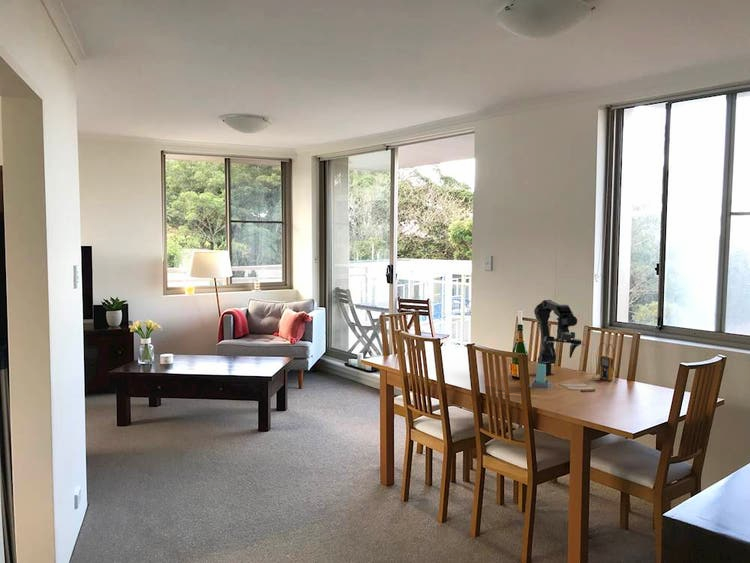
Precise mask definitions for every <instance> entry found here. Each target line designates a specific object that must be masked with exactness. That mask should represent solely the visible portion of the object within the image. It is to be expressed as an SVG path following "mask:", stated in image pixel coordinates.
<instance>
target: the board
mask: <svg viewBox="0 0 750 563" xmlns="http://www.w3.org/2000/svg"><path fill="white" fill-rule="evenodd" d="M559 385H560V386H562V387H564V388H565V389H568V390H569V391H580V392H581V393H584V392H588V391H590V392H596V389H595V388H594V387H592V386H590V385H587V384H585V383H584V382H569V383H559Z"/></svg>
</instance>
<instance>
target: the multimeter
mask: <svg viewBox="0 0 750 563" xmlns="http://www.w3.org/2000/svg"><path fill="white" fill-rule="evenodd" d="M602 344H604V345H605V354H601V355H600V358H599V378H595V377H593V376H592V380H595V381H600V380H601V381H602V380H604V381H605V382H607V381H608V383H611V381H613V380H614V373H615V377H616V383H618V381H619V380H618V379H619V378H618V375H617V373H616V371H615V368H614V360H615V355H613V356H611V355H609V350H608V348H609V346H611V348H612V351H613V352H615V350H614V347H613V346H612V344H611V343H610V344H608V346H607V344H606V343H605V342H601V343H600V344H599V346H598V348H597V351H596V354H598V352H599V349H600V346H601V345H602ZM597 357H598V355H595V359H596V361H595V367H596V372H595V373H596V374H595V376H597V374H598V369H597V368H598V367H597V366H598V365H597V361H598V360H597V359H598V358H597ZM601 378H602V379H601Z"/></svg>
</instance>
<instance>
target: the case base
mask: <svg viewBox="0 0 750 563" xmlns="http://www.w3.org/2000/svg"><path fill="white" fill-rule="evenodd" d="M529 385H530V387H531V388H530V389H541V390H551V389H552V386H553V383H552V382H551V383H550V380H548V379H546V384H544V383H536V378H533V380H532V381H530V383H529Z"/></svg>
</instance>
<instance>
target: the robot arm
mask: <svg viewBox="0 0 750 563" xmlns="http://www.w3.org/2000/svg"><path fill="white" fill-rule="evenodd" d="M533 312H534V315H535V319H536V320H537V321H538V322H539V323H538V324H539V330H540V332H539V333H540V339H541V349H540V350H539V355H538V358H537V363H538V364H546V376H552V375H555V374H554V373H553V372H552V365H555V364H556V361H557V354H556V349H555V342H556V343H562V344H563V343H565V344H570V345H569V358H570V359H571V358H572V357H573V354H574V351H575V349H576V348H577V347H580V346H582V339H580V338H576V332H574V331H570V329H569V328H572V327H575V326H576V325H577V324H578V318H577V317H576V316H575V315H574V313H573V311H572V309H571V308H570V306H569V304H559V303H557V302H556V301H555V302H554V301H553V300H551V299H544V300H542V301H541V302H540V303H539V304H537V305H536V307H535V308H534V310H533ZM552 312H553V313H554V315H555V316H557V317H556V320H557V329H556V332H557V334H556V337H554V336H551V335H550V328H549V319H550V317H551V313H552Z"/></svg>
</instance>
